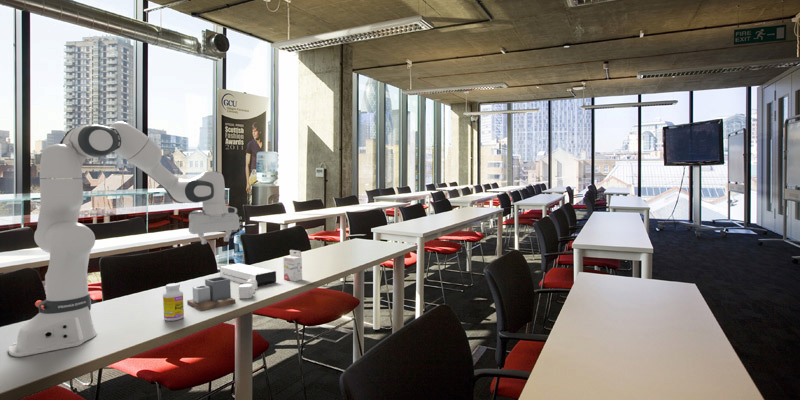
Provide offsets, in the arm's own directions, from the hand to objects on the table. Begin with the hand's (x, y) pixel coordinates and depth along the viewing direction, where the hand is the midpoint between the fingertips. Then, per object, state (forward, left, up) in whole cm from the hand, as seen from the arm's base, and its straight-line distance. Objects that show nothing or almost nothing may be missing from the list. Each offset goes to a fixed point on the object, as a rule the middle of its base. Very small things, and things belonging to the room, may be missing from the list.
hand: (215, 242), depth 188 cm
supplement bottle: (-21, -10, -25) cm, 34 cm away
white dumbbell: (+16, +3, -26) cm, 30 cm away
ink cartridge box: (+43, +9, -25) cm, 51 cm away
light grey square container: (-7, 0, -24) cm, 24 cm away
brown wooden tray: (-3, -1, -25) cm, 25 cm away
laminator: (+28, +27, -26) cm, 47 cm away
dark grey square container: (0, 0, -24) cm, 24 cm away
